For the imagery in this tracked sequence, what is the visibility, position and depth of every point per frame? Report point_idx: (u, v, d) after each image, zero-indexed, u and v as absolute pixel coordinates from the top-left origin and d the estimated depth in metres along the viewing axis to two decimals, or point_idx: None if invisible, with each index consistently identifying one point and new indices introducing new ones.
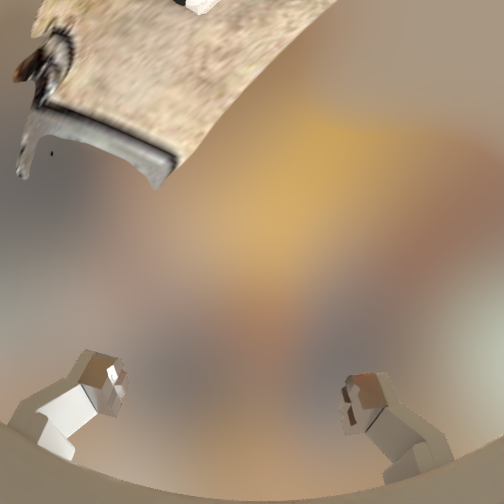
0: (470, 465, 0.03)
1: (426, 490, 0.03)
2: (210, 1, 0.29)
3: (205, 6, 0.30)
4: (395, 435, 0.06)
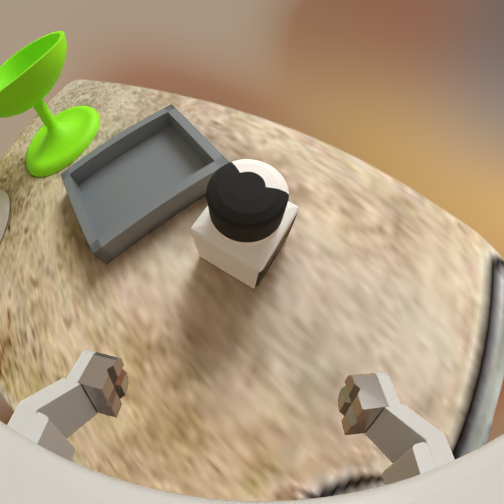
0: (470, 465, 0.03)
1: (426, 490, 0.03)
2: None
3: None
4: (395, 435, 0.06)
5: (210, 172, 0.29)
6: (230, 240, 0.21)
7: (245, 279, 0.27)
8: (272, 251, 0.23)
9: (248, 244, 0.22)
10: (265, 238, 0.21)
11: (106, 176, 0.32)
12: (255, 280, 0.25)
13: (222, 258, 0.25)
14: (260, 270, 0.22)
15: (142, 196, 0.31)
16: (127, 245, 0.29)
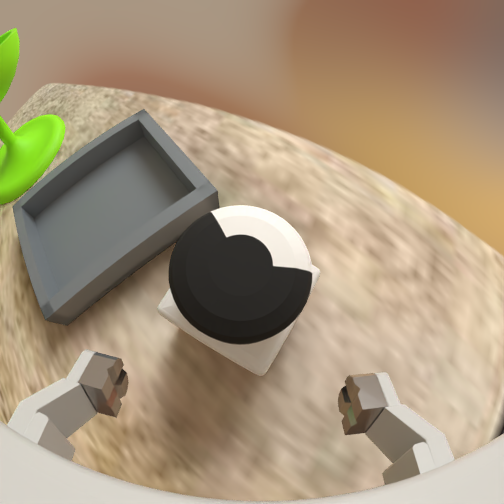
0: (470, 465, 0.03)
1: (426, 490, 0.03)
2: None
3: None
4: (395, 435, 0.06)
5: (190, 206, 0.21)
6: None
7: None
8: (281, 345, 0.14)
9: (244, 344, 0.13)
10: None
11: (64, 207, 0.24)
12: None
13: None
14: (262, 374, 0.14)
15: (105, 236, 0.23)
16: (89, 303, 0.21)
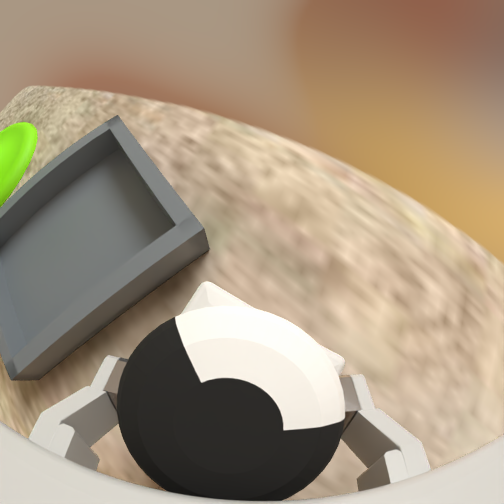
0: (470, 465, 0.03)
1: (426, 490, 0.03)
2: None
3: None
4: (369, 440, 0.06)
5: (168, 251, 0.15)
6: None
7: None
8: None
9: None
10: None
11: (29, 238, 0.18)
12: None
13: None
14: None
15: (71, 279, 0.17)
16: (58, 360, 0.15)
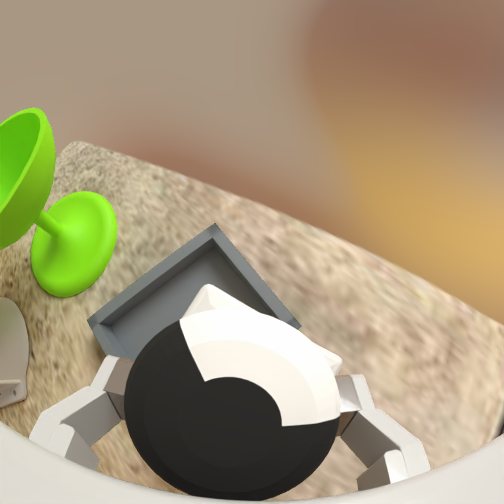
0: (470, 465, 0.03)
1: (426, 490, 0.03)
2: None
3: None
4: (369, 440, 0.06)
5: None
6: None
7: None
8: None
9: None
10: None
11: (144, 320, 0.28)
12: None
13: None
14: None
15: None
16: None
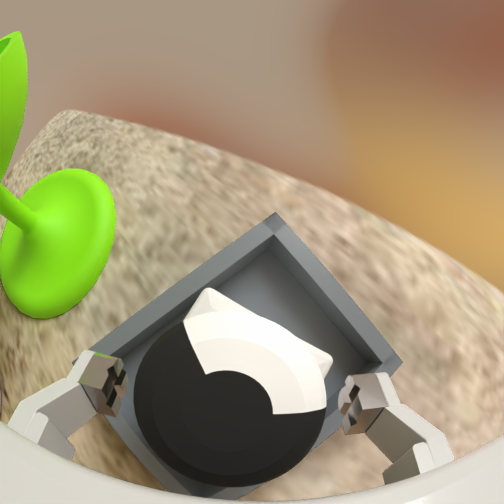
0: (470, 465, 0.03)
1: (426, 490, 0.03)
2: None
3: None
4: (395, 435, 0.06)
5: None
6: None
7: None
8: None
9: None
10: None
11: None
12: None
13: None
14: None
15: None
16: None
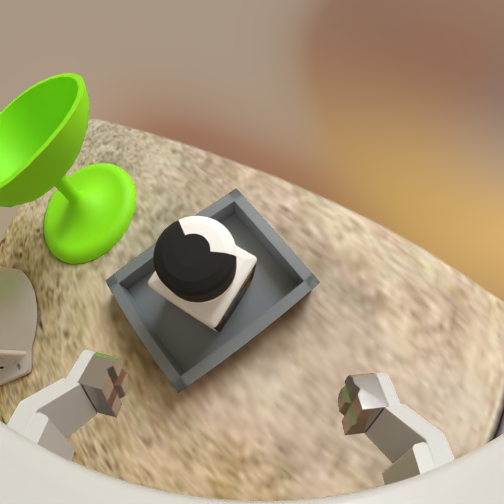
0: (470, 465, 0.03)
1: (426, 490, 0.03)
2: None
3: (237, 248, 0.24)
4: (395, 435, 0.06)
5: (301, 296, 0.27)
6: (182, 299, 0.21)
7: None
8: (226, 307, 0.22)
9: (200, 303, 0.21)
10: (216, 298, 0.21)
11: None
12: (215, 329, 0.25)
13: (181, 308, 0.24)
14: (214, 326, 0.22)
15: None
16: None
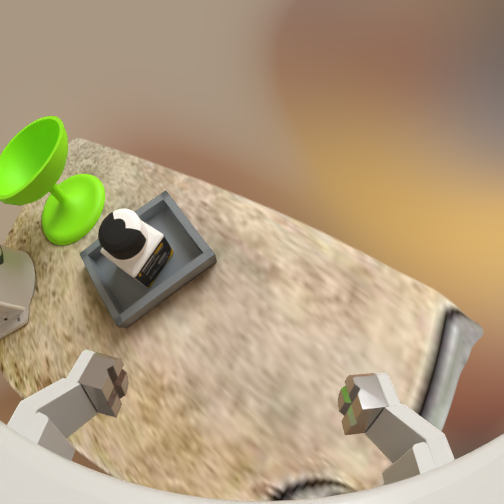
0: (470, 465, 0.03)
1: (426, 490, 0.03)
2: (145, 224, 0.36)
3: (152, 228, 0.36)
4: (395, 435, 0.06)
5: (200, 263, 0.39)
6: (115, 258, 0.33)
7: None
8: (142, 264, 0.34)
9: (125, 260, 0.33)
10: (133, 257, 0.33)
11: None
12: (140, 282, 0.37)
13: None
14: (134, 276, 0.34)
15: None
16: (141, 315, 0.39)
